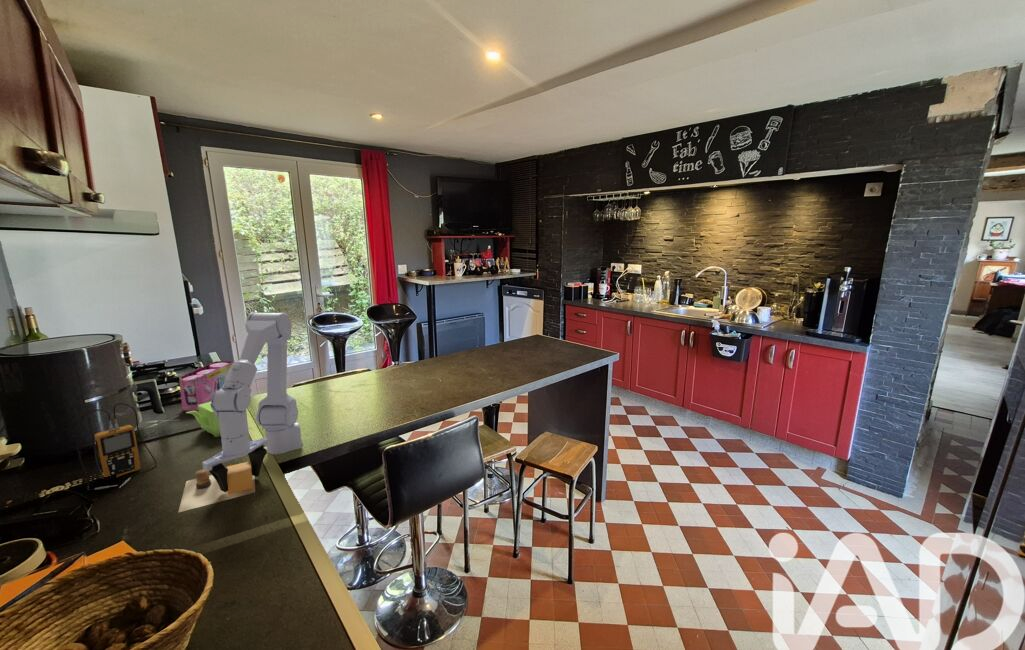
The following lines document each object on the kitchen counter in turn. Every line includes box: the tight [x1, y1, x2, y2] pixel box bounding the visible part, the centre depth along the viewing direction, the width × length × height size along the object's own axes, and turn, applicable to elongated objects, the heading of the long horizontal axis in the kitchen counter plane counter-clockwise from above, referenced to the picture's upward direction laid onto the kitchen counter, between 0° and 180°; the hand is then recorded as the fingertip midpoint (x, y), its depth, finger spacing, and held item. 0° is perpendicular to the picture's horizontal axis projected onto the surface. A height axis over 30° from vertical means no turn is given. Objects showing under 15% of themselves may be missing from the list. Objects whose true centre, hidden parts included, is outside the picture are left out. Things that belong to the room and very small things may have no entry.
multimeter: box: [76, 402, 158, 491], centre depth 105 cm, size 15×10×20 cm
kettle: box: [185, 402, 221, 438], centre depth 134 cm, size 15×14×11 cm
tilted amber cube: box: [226, 460, 253, 494], centre depth 101 cm, size 5×5×5 cm
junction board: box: [177, 468, 256, 514], centre depth 101 cm, size 15×15×6 cm
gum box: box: [179, 360, 235, 412], centre depth 160 cm, size 24×8×14 cm, turn 6°
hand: (240, 482), depth 101 cm, fingers closed on tilted amber cube, 7 cm apart
